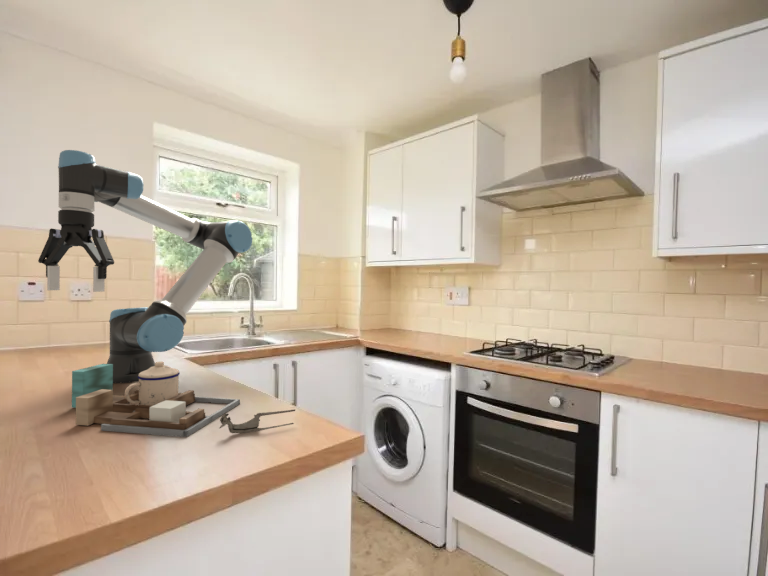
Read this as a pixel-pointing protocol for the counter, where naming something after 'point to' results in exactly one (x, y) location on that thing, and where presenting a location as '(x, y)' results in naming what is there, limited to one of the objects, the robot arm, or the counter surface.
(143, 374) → the teacup with lid
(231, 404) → the lane rails
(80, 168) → the robot arm
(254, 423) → the nutcracker
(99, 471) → the counter surface
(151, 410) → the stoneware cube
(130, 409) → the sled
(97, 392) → the sled
